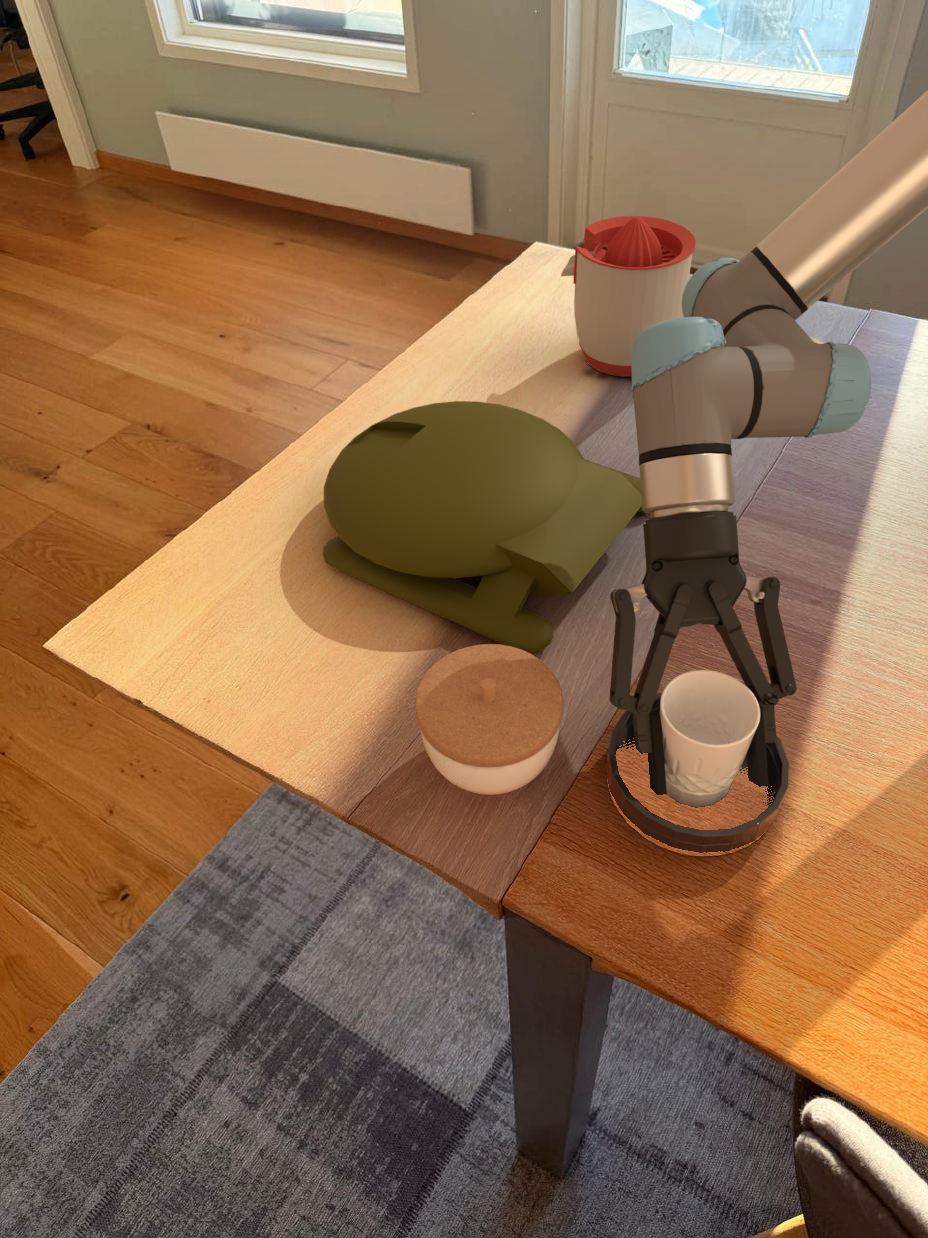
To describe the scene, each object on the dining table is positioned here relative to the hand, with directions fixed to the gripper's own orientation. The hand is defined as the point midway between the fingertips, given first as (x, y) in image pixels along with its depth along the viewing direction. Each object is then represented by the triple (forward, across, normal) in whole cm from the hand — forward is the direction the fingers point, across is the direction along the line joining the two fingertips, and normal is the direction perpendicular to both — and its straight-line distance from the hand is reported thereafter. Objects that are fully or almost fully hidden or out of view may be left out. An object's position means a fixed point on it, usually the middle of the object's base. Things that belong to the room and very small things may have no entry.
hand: (708, 786), depth 75 cm
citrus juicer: (-50, -7, -56) cm, 76 cm away
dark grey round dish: (+1, 0, -5) cm, 5 cm away
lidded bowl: (-2, +18, -8) cm, 20 cm away
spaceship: (-26, +17, -32) cm, 44 cm away
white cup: (0, 0, -5) cm, 5 cm away
